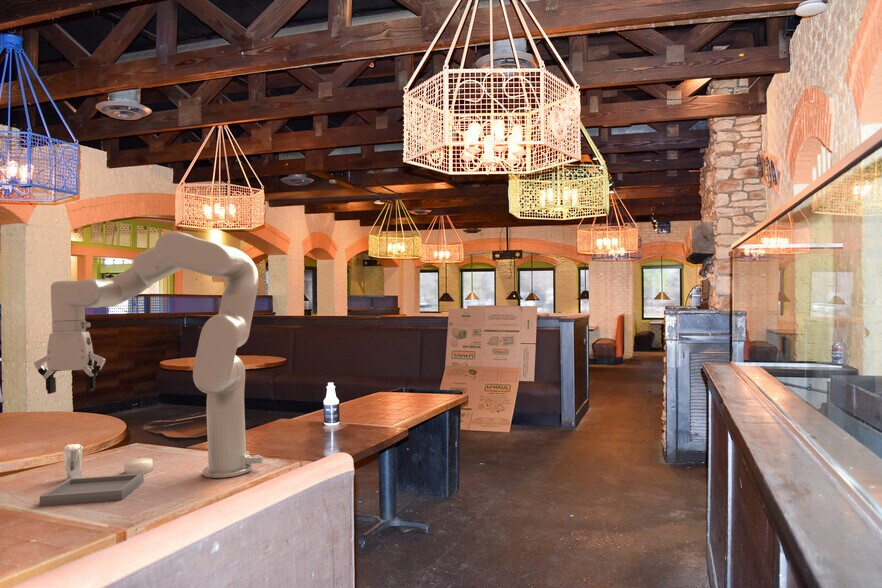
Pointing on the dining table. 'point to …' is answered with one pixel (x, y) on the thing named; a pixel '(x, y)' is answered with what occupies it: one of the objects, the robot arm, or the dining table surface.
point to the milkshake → (73, 460)
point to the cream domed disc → (138, 466)
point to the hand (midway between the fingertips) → (71, 392)
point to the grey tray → (92, 489)
